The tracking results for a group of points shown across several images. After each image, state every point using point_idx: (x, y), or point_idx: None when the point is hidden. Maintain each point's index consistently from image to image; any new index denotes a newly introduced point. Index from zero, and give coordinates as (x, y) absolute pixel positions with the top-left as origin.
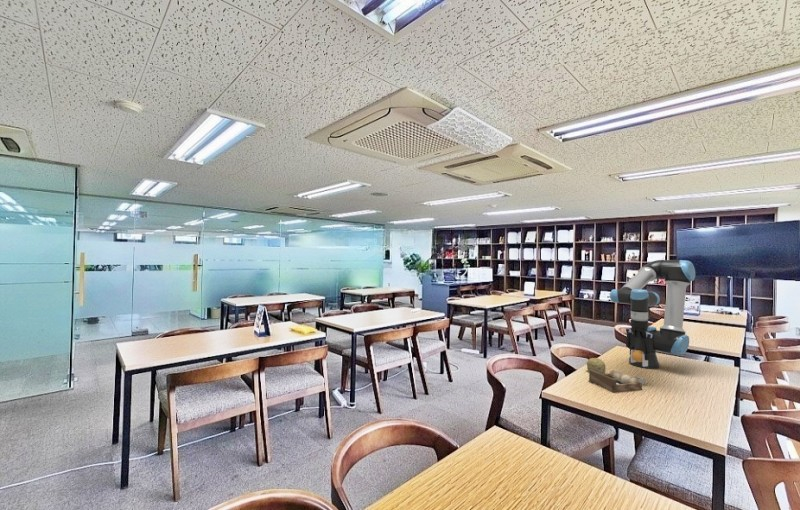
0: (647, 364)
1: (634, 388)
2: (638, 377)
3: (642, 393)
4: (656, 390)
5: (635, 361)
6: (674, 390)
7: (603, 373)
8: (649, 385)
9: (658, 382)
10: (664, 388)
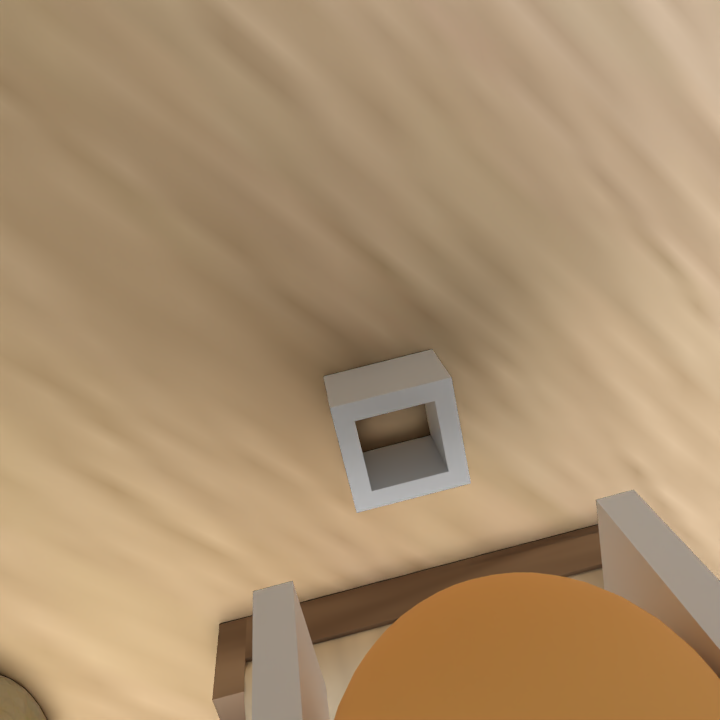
0: (660, 531)
1: None
2: (353, 414)
3: (717, 577)
4: (666, 340)
5: (298, 611)
6: (714, 41)
7: (24, 706)
8: (480, 300)
9: (347, 13)
10: (617, 148)
